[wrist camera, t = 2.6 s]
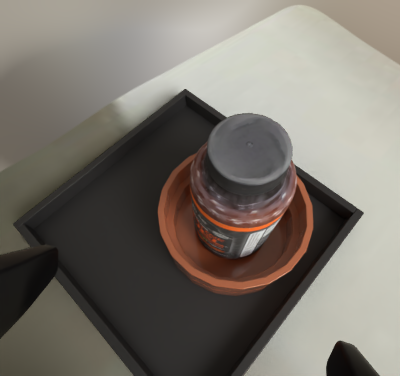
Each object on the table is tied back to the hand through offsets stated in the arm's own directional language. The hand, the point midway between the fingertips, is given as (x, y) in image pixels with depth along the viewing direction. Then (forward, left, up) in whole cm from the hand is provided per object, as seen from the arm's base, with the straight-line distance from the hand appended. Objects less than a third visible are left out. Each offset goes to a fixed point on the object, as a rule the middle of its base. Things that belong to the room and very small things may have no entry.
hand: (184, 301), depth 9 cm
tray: (+5, -5, -13) cm, 15 cm away
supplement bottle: (+3, -7, -13) cm, 15 cm away
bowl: (+3, -7, -13) cm, 15 cm away
